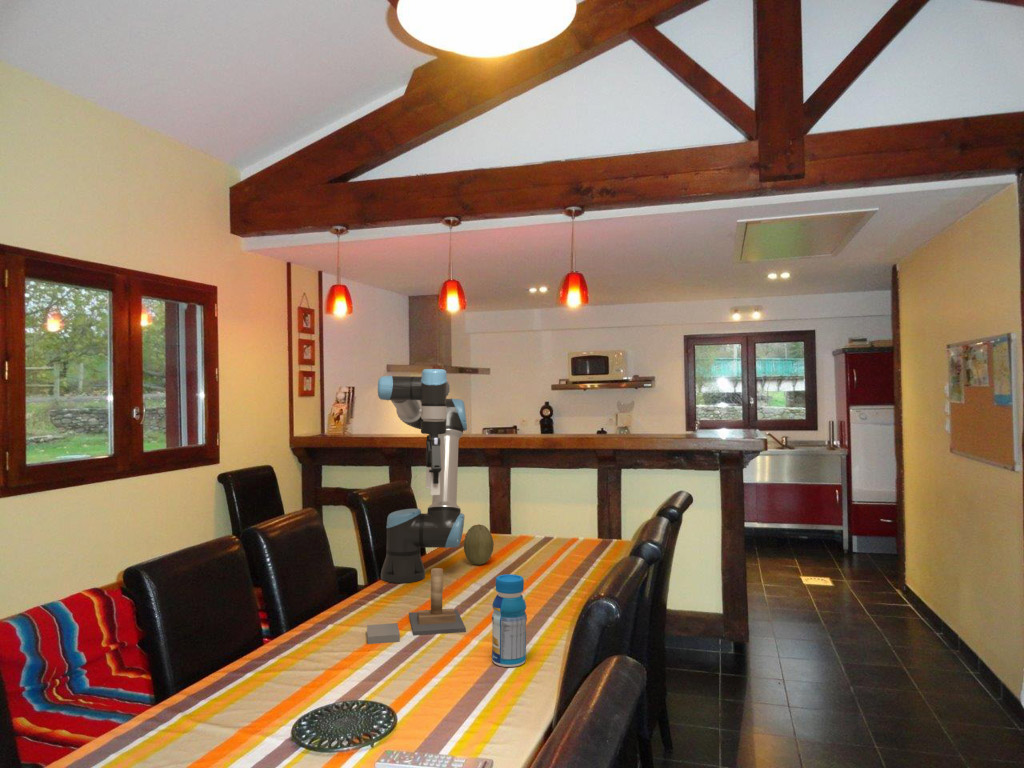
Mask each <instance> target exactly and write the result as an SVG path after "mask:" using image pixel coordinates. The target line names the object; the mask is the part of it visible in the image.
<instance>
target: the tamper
mask: <svg viewBox="0 0 1024 768" xmlns="http://www.w3.org/2000/svg"><path fill="white" fill-rule="evenodd" d="M443 571H444V569H443V568H440V567H436V568H435V567H434V568H431V571H430V609H424V610H422V609H421V610H416V612H417V618H418V622H419V625H424V624H440V623H456V614H455V612H454V610H455V609H454V608H443V589H444V588H443V587H444V586H443V584H444V583H443V582H444V580H443V579H444V578H443V576H444V572H443Z"/></svg>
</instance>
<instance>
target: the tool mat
mask: <svg viewBox="0 0 1024 768" xmlns="http://www.w3.org/2000/svg"><path fill="white" fill-rule="evenodd" d="M453 610H454V612H455V614H456V623H440V624H424V625H419V622H418V618H417V611H415V612H413V611H412V612H408V618H409V622H410V626H411V632H412V636H423V635H425V636H426V635H427V636H428V635H438V634H453V633H456V634H457V633H466V632H467V631H466V630H467V628H466V626H465V623H464V622H463V619H462V617H461V614H460V613H459V610H458V609H453Z"/></svg>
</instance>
